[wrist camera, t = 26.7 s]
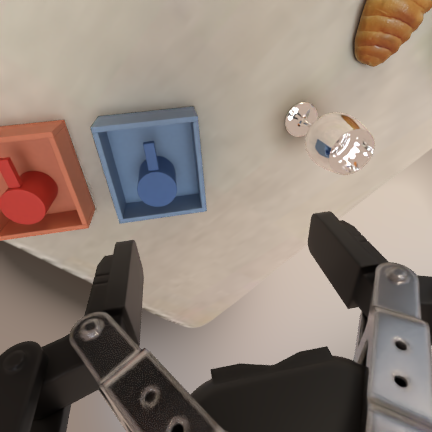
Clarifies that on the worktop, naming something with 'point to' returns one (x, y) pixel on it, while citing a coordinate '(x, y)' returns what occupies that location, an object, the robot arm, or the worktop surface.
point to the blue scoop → (156, 178)
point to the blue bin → (134, 156)
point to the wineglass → (331, 138)
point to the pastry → (387, 27)
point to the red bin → (51, 165)
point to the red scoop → (26, 194)
